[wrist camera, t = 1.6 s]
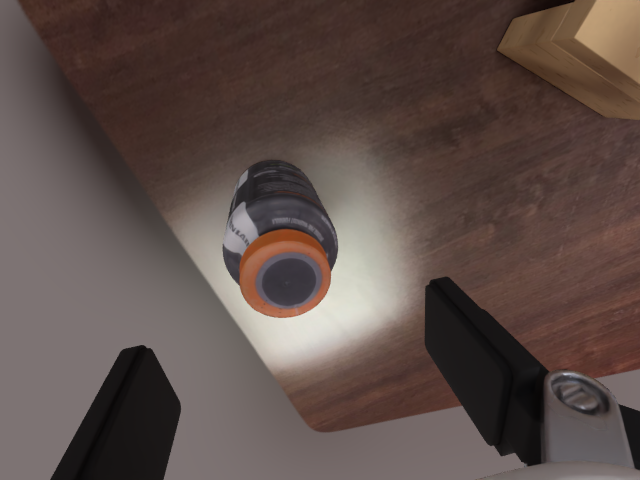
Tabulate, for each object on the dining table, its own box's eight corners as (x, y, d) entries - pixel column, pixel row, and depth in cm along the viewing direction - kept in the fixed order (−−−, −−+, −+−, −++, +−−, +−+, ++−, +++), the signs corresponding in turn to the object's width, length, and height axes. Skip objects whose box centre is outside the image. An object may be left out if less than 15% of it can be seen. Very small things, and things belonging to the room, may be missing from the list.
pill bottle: (215, 194, 22) (180, 281, 12) (279, 141, 21) (296, 188, 11) (270, 248, 25) (279, 356, 15) (328, 203, 24) (378, 285, 14)
